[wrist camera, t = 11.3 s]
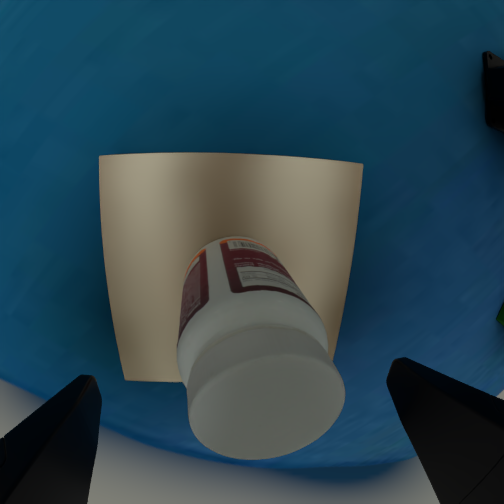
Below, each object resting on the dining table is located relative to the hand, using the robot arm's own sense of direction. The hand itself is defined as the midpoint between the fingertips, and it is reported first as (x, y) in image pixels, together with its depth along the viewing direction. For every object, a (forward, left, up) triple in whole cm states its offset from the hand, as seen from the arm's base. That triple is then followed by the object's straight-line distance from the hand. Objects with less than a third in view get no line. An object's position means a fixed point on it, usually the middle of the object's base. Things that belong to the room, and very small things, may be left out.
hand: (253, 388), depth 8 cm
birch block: (0, 0, -10) cm, 10 cm away
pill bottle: (0, 0, -7) cm, 7 cm away
